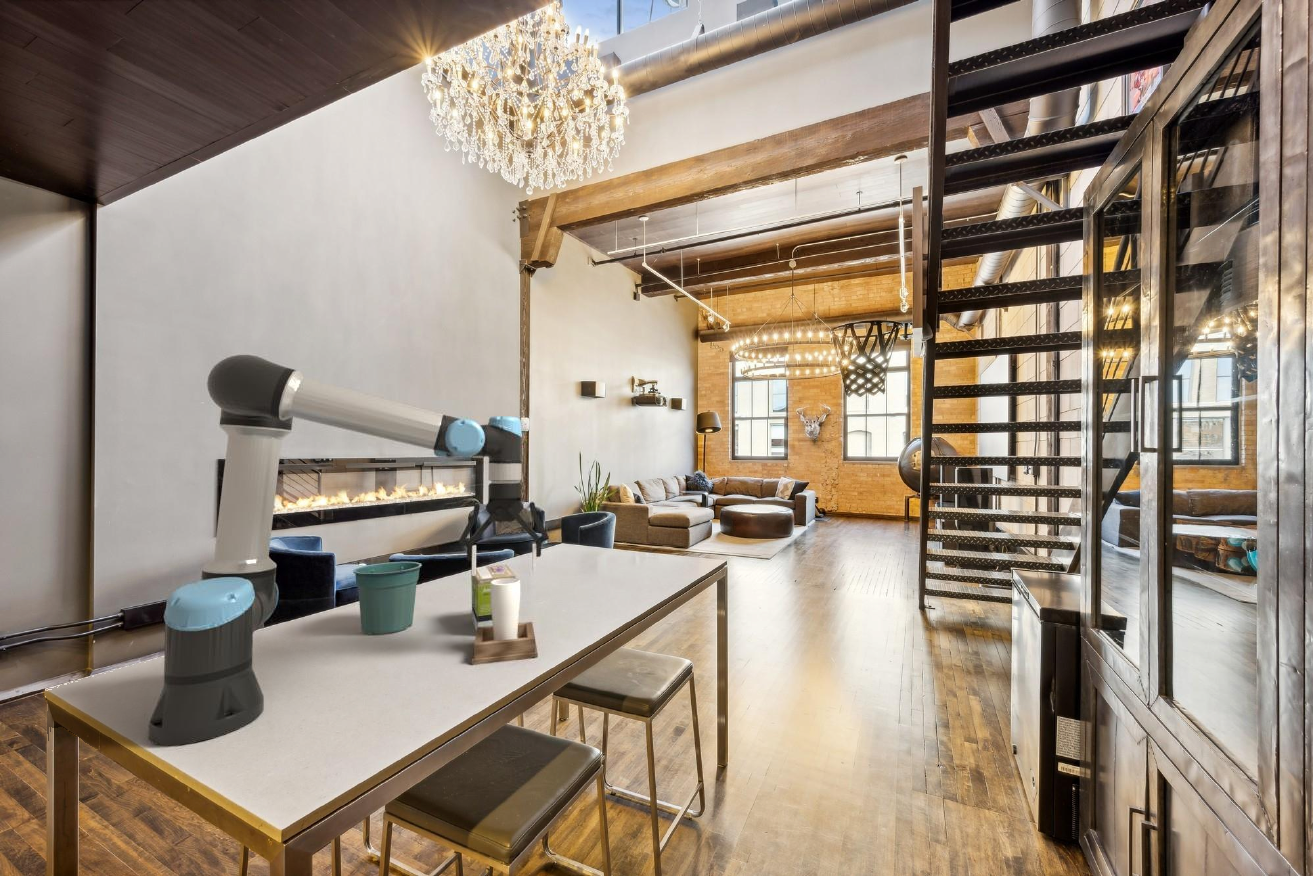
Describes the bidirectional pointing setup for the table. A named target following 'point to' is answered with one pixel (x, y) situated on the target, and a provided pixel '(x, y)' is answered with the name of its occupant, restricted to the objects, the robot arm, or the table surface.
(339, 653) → the table surface
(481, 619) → the tea box
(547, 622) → the table surface
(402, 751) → the table surface
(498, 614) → the drinking glass
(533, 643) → the walnut dock
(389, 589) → the flower pot
